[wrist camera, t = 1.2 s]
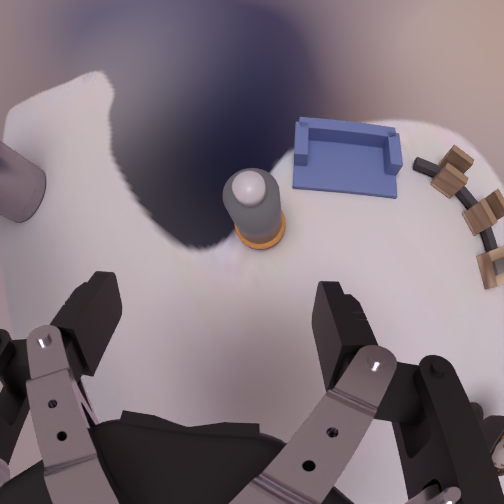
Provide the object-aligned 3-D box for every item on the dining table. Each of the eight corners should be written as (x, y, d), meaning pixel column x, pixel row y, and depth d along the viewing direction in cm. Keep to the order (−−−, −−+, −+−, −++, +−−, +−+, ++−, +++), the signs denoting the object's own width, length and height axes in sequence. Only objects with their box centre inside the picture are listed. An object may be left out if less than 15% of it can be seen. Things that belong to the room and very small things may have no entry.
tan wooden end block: (507, 278, 28) (523, 274, 25) (484, 289, 28) (500, 285, 25) (499, 247, 29) (514, 241, 26) (476, 256, 29) (491, 250, 26)
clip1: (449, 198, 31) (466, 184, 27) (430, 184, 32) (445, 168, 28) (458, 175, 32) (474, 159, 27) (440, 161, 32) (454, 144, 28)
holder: (395, 198, 32) (404, 187, 29) (292, 188, 34) (292, 175, 30) (391, 142, 34) (398, 128, 30) (295, 132, 35) (296, 116, 32)
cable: (409, 165, 32) (412, 160, 31) (425, 150, 32) (428, 146, 31) (492, 265, 29) (497, 264, 27) (504, 247, 29) (509, 245, 28)
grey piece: (229, 236, 33) (201, 197, 23) (253, 198, 34) (238, 146, 23) (269, 260, 32) (259, 230, 22) (293, 220, 33) (295, 173, 22)
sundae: (433, 435, 26) (504, 487, 11) (467, 386, 26) (551, 411, 12) (464, 454, 24) (532, 500, 10) (495, 408, 25) (574, 434, 10)
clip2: (473, 235, 30) (493, 225, 26) (461, 214, 31) (479, 201, 26) (491, 222, 30) (510, 211, 26) (480, 201, 31) (498, 188, 26)
